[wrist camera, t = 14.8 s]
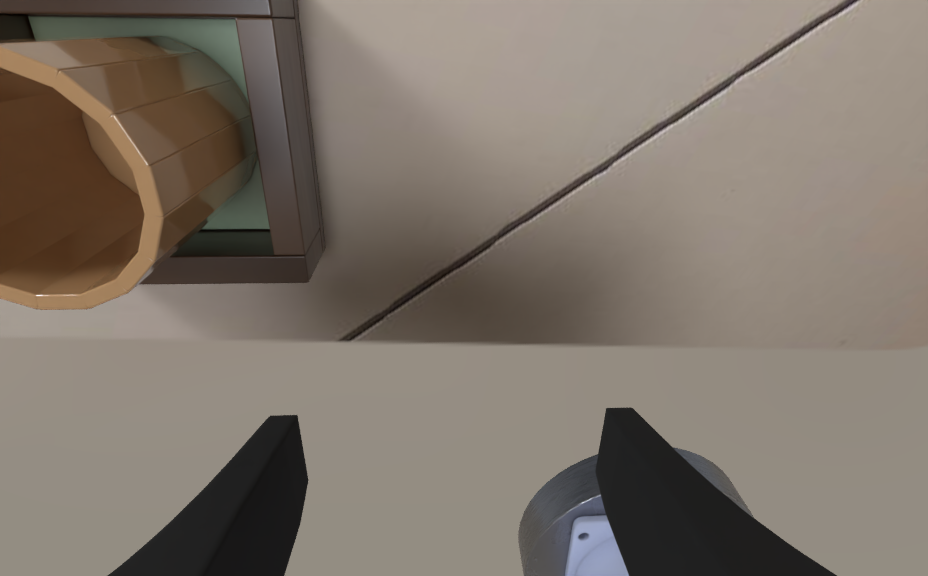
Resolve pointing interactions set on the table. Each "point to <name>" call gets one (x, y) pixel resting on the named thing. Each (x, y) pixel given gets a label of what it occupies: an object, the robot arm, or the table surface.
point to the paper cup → (110, 161)
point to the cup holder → (272, 112)
